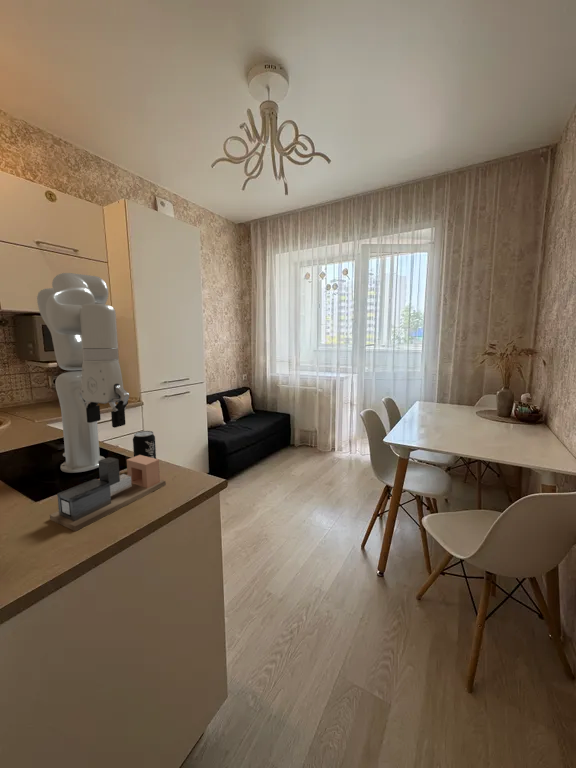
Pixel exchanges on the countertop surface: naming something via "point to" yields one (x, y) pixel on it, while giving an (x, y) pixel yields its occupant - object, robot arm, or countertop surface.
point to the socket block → (143, 470)
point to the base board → (108, 506)
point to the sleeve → (85, 498)
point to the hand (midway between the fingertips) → (106, 423)
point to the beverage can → (144, 444)
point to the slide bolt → (107, 479)
